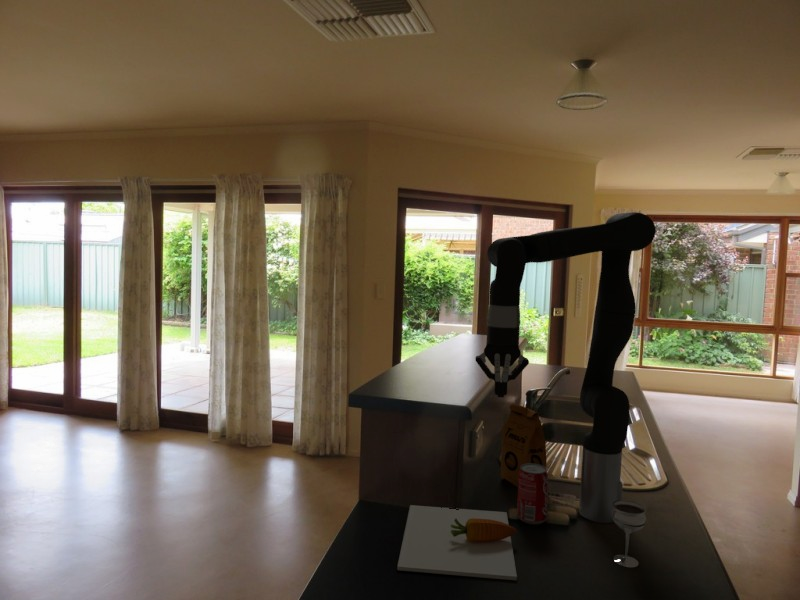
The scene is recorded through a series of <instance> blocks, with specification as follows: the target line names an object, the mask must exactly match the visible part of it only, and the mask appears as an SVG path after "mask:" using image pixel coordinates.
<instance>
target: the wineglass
mask: <svg viewBox="0 0 800 600" xmlns="http://www.w3.org/2000/svg"><path fill="white" fill-rule="evenodd" d="M613 507H614V509H613V511H612V518H613V521H614V522H613V523H614V524H615V525H616V526H617V527H618V528H619V529H620V530H623V532H624V533H625V546H624V547H625V548H624V549H625V554H616V555H615V556H613V560H614V562H615V563H616V564H618V565H620V566H623V567H626V568H636V567H638V566H639V562H638V560H637V559H636V558H635V557H633V556H630V555H628V552H629V541H630V534H632V533H635V532H639V530H642V529H643V528H644V527H645V525H646V523H647V522H646V521H647V517H646V516H647V515H646V514H645V513H646V512H647V508H646V507H645V505H643V504H641V503H639V502H636V501H633V500H627V499H622V500H618V501H615V502H613Z"/></svg>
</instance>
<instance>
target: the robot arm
mask: <svg viewBox="0 0 800 600" xmlns="http://www.w3.org/2000/svg"><path fill="white" fill-rule="evenodd" d="M656 231H657V230H656V225H655V223H654V220H652V218H651V217H650V216H649V215H647V214H644V213H642V212H637V211H636V212H635V211H633V212H621V213H616V214H613V215H612V216H610V217H609V218H607V221H606V222H604V223H601V224H595V225H588V226H580V227H567V228H566V227H565V228H559V229H553V230H551V229H550V230H547V231H541V232H536V233H534V234H528V235H519V236H510V237H503V238H498V239H495V240H494V241H493V242H491V243H490V244H489V246H488V247H487V251H486V252H487V253H486V256H487V259H488V261H489V263H490V264H491V265H492V266H494V267H496V268H495V277H494V279H493V280H492V281H491V283H490V285H489V295H488V296H489V297H488V298H489V299H488V300H489V301H488V310H487V317H486V319H487V320H486V325H487V326H486V344H485V347H484V349H483V352H482V353H481V354H479V355H476V356H475V359H474V360H475V362H476V363H477V364H478V366H479V367H480V369H481V370H482V372H483V373H484V374H485V375H486V377H487V378H488V379H489V380H493V381H494V395H496V396H497V398H505V396H507V394H508V382H510V381H514V380H515V379H517V377H518V376H519V375H520V374H521V373H522V372H523V371H524V369H526V367H527V366H528V365H529V363H530V361H529V359H528V357H525V356H523V354H522V353H521V350H520V327H521V326H520V325H521V310H520V304H521V302H520V301H521V286H522V285H521V284H522V281H523V277H524V274H525V271H526V264H529V263H535V264H536V263H537V264H538V263H546V262H552V261H558V260H563V259H568V258H572V257H576V256H582V255H586V254H592V253H598V252H601V258H600V261H601V262H600V263H601V264H600V265H601V266H600V273H599V282H598V290H597V296H596V297H597V298H596V302H595V303H596V304H595V308H594V317H593V321H592V322H593V324H592V334H591V341H590V345H589V346H590V347H589V352H588V353H589V354H588V360H587V365H586V370H585V373H584V377H583V381H582V385H581V390H580V394H579V404H580V407H581V409H582V411H583V412H584V413H585V414H586V415H587V416H589V417H591V418H592V419H593V422H592V430H591V431H590V432H586V433H585V434H584V435H583V437H582V456H581V471H580V474H581V475H580V486H579V487H580V489H579V491H580V492H579V502H578V504H579V506H580V507H581V510H582V512H581V511H580V509H578V512H579V514H580V516H582V517H583V518H584V519H587V520H588V521H591V522H595V523H600V524H610V523H614V521H613V518H612V511H613V509H614V507H613V502H615V501H618V500H623V499H622V498H623V482H622V481H621V474H622V458H623V457H622V456H623V446H624V444H625V442H626V439H627V435H628V429H629V421H630V400H629V397H628V395H627V394H626V392H625V391H623V390H622V389H620V388H618V387H616V386H614V385H613V382H614V380H613V379H614V373H615V367H616V364H617V361H618V360H619V357H620V356H621V354H622V352H623V351H624V349H625V348H626V346H627V344H628V343H629V341H630V340H631V337H632V334H633V331H634V330H633V329H634V325H635V319H636V315H635V314H636V299H635V295H634V294H635V293H634V291H633V288H632V284H631V279H630V263H631V255H632V252H638V251H641V250H643V249H646V248H647V247H648V246H650V245H651V244H652V242H653V240H654V239H655V236H656ZM486 358H487V359H486ZM487 360H488V362H489V363H490V364H491V365H492V366H493V368H494V369H493V370H494V371H493V372H492V371H491V369H490V368H489V366H487V364H486V363H487V362H486V361H487ZM516 361H517V365H516V366H515V368H514V369H513V370H512V371H511V372H510V368H511V367H512V366H513V365H514V364H515V363H516ZM501 367H502V373H501ZM579 506H578V507H579Z"/></svg>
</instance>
